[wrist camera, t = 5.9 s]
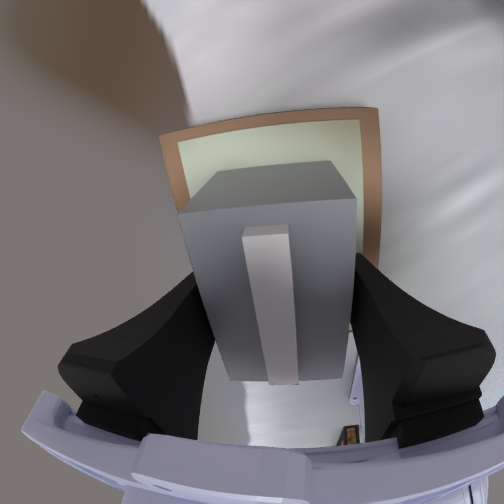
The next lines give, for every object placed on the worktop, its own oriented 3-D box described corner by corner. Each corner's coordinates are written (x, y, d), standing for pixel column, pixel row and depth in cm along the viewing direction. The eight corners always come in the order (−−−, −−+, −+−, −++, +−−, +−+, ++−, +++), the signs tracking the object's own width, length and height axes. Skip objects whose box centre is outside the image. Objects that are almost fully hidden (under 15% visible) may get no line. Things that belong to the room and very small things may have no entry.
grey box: (330, 160, 11) (362, 206, 6) (332, 305, 15) (343, 389, 10) (217, 171, 12) (169, 222, 7) (245, 309, 16) (227, 390, 11)
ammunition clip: (345, 450, 33) (345, 517, 22) (333, 451, 33) (332, 518, 23) (358, 424, 27) (362, 510, 17) (344, 426, 28) (345, 513, 17)
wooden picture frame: (364, 309, 18) (370, 333, 16) (223, 318, 20) (216, 341, 18) (365, 107, 12) (379, 108, 10) (174, 131, 13) (156, 136, 11)
